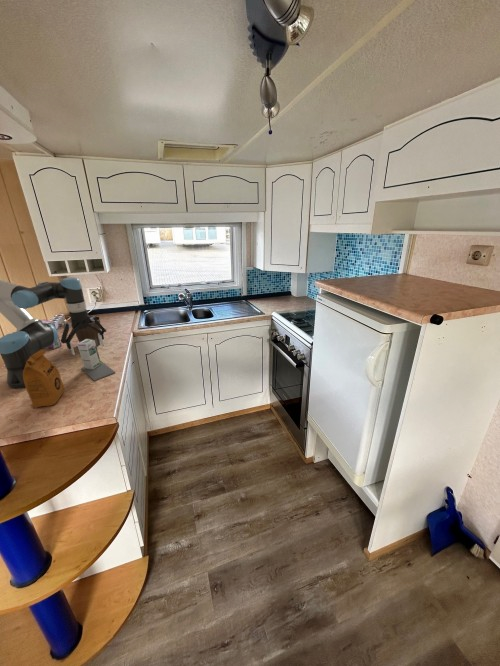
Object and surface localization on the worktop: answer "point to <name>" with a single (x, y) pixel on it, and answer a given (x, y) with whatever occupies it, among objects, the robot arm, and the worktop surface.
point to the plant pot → (89, 332)
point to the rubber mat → (98, 371)
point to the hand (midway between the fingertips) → (88, 349)
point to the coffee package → (42, 380)
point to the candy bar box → (57, 343)
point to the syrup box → (89, 353)
